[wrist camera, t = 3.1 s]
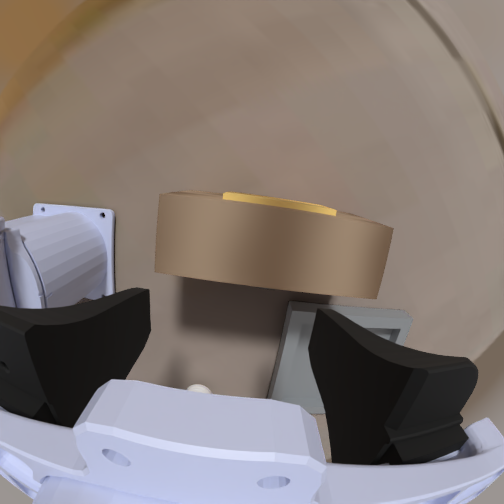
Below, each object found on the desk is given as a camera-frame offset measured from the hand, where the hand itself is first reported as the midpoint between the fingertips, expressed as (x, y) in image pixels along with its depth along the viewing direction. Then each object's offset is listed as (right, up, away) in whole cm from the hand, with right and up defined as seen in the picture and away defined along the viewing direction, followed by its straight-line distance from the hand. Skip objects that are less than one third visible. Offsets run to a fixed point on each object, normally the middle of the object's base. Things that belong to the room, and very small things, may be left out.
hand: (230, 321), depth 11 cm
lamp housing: (+2, +5, +9) cm, 10 cm away
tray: (+9, -7, +12) cm, 16 cm away
